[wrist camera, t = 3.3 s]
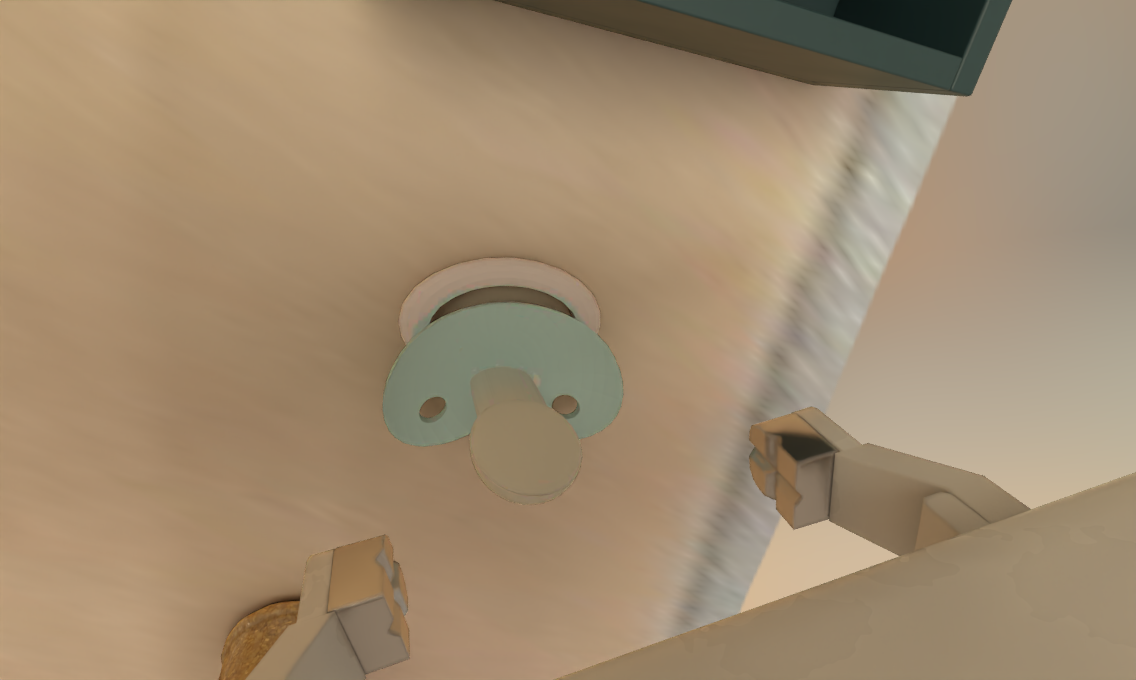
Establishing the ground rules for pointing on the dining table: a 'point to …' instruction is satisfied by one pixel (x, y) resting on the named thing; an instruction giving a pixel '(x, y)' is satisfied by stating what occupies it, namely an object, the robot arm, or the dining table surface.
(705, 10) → the crate
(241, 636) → the sprinkles bottle
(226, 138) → the dining table surface
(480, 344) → the pacifier
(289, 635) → the robot arm
